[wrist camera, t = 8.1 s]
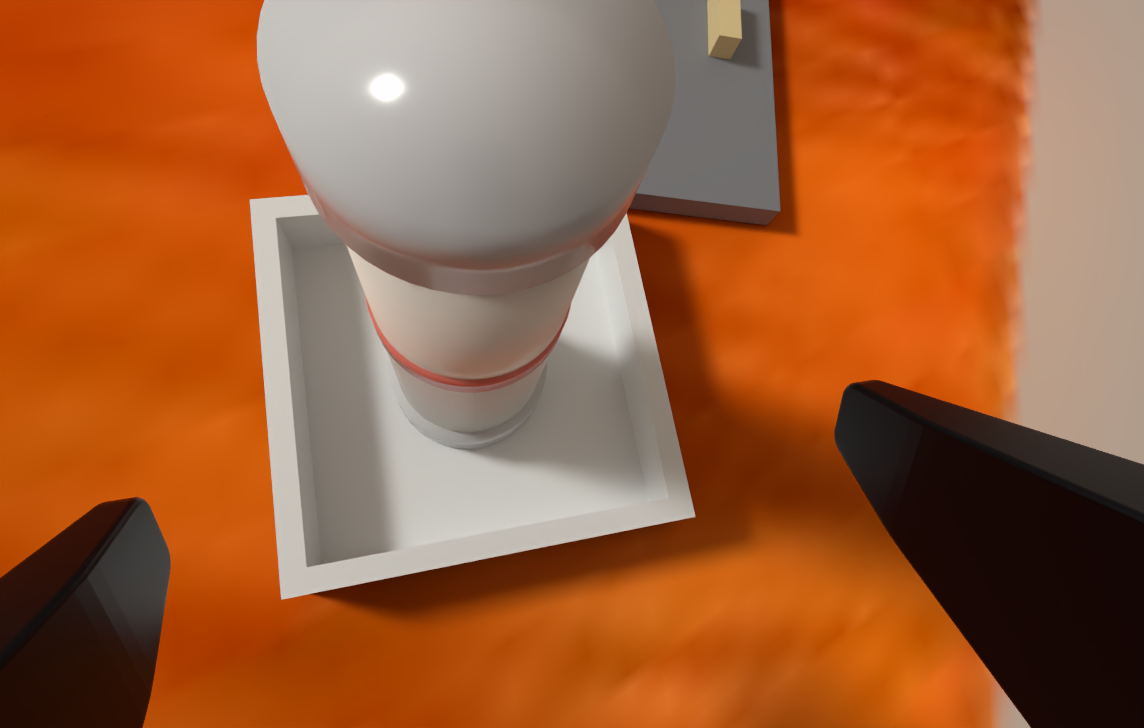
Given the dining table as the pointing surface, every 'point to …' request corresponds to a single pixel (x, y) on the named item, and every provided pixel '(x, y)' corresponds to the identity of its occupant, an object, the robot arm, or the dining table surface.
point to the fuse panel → (717, 116)
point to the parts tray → (431, 470)
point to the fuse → (469, 174)
